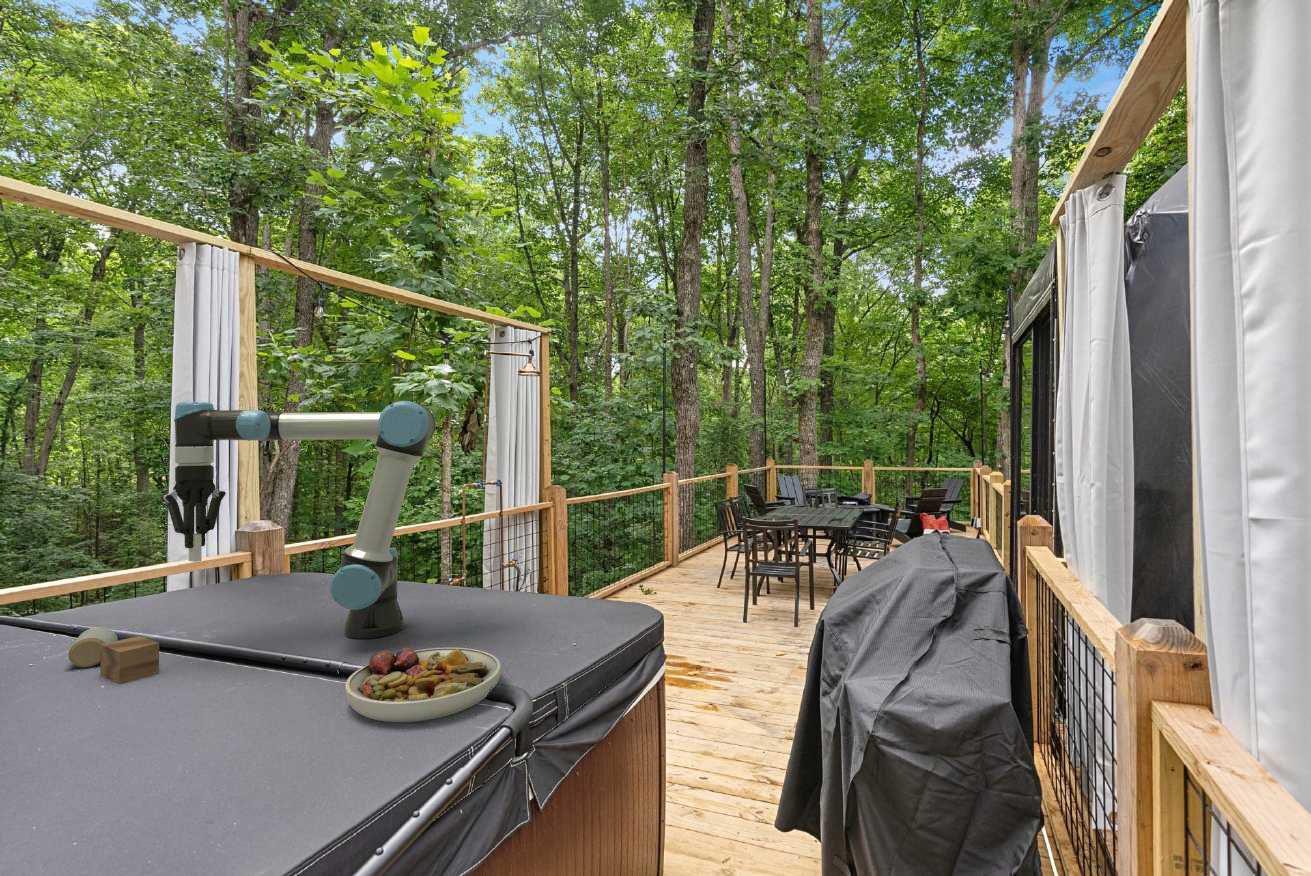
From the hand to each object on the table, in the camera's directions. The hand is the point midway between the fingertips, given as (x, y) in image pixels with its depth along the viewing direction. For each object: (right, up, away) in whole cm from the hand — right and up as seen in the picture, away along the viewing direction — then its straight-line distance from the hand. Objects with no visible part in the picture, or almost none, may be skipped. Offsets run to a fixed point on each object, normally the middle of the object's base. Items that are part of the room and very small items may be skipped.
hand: (195, 560), depth 146 cm
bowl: (+65, -24, -22) cm, 73 cm away
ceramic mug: (-20, -24, -3) cm, 31 cm away
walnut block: (-6, -17, -11) cm, 21 cm away
